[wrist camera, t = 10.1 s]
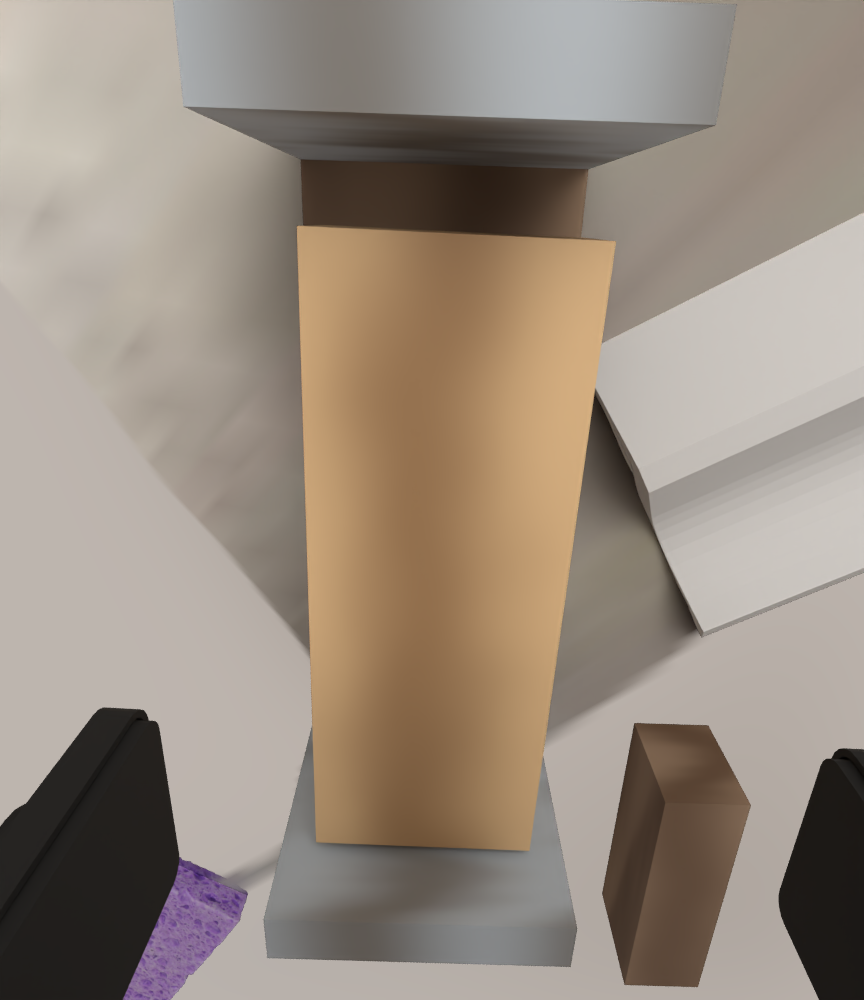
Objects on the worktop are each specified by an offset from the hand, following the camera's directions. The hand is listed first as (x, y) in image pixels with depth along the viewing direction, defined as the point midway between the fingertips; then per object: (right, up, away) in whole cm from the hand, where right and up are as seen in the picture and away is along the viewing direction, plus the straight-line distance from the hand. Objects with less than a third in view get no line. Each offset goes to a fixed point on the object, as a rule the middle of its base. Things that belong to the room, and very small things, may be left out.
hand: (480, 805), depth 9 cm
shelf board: (-1, +3, +9) cm, 9 cm away
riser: (+9, -9, +19) cm, 23 cm away
